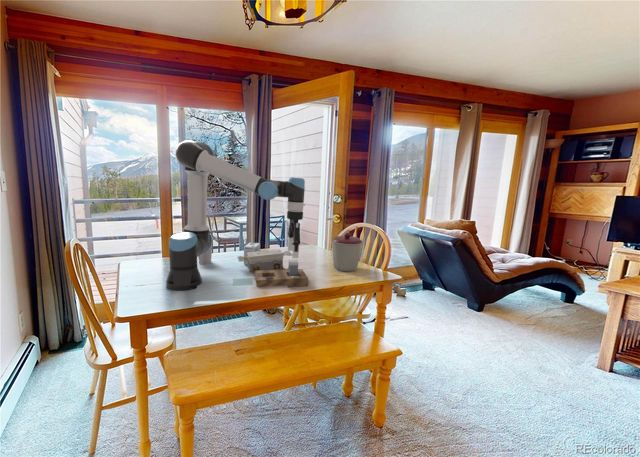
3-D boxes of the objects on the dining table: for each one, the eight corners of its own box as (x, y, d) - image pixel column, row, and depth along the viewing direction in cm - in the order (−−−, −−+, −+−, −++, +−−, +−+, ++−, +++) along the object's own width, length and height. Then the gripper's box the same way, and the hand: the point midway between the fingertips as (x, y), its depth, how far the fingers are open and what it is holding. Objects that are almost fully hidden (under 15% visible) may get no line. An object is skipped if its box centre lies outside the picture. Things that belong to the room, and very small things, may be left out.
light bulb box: (249, 259, 193) (249, 242, 191) (260, 260, 193) (260, 242, 191) (243, 265, 183) (243, 246, 181) (255, 265, 182) (255, 247, 180)
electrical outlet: (294, 270, 175) (293, 252, 173) (240, 277, 166) (238, 259, 164) (288, 264, 186) (288, 247, 184) (237, 270, 177) (236, 252, 174)
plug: (289, 282, 157) (290, 262, 156) (288, 279, 161) (288, 260, 159) (297, 281, 158) (298, 262, 157) (296, 279, 162) (296, 259, 160)
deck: (232, 287, 148) (232, 285, 148) (232, 280, 157) (232, 278, 157) (252, 286, 151) (252, 284, 151) (251, 280, 159) (252, 278, 159)
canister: (325, 271, 178) (327, 233, 174) (333, 262, 195) (335, 228, 191) (358, 275, 174) (361, 237, 170) (363, 266, 191) (365, 231, 187)
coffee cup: (217, 262, 185) (217, 236, 183) (203, 265, 178) (202, 239, 175) (206, 259, 190) (206, 234, 188) (192, 262, 182) (191, 236, 180)
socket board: (256, 288, 149) (256, 279, 148) (254, 278, 162) (254, 270, 161) (307, 286, 155) (308, 277, 154) (302, 276, 168) (302, 268, 167)
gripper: (308, 215, 143) (305, 261, 147) (298, 207, 166) (295, 247, 170) (291, 214, 141) (289, 261, 145) (283, 206, 164) (281, 247, 168)
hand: (292, 254), depth 157 cm, fingers open, 13 cm apart
